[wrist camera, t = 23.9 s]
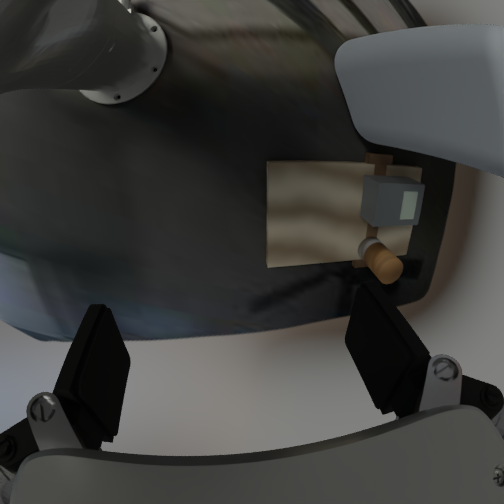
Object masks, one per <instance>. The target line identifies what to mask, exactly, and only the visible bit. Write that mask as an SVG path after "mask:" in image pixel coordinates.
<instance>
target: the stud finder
mask: <svg viewBox="0 0 504 504" xmlns="http://www.w3.org/2000/svg"><path fill="white" fill-rule="evenodd" d="M424 189H425V185H424V184H422V183H420V182H418V181H416V180H414V179H412V178H410V177H399V176H379V175H364V184H363V194H362V202H361V210H360V216H361V217H362V218H363V219H364V220H366V221H367V222H368V223H369V224H370V225H371V226H372V227H380V226H403V225H418V222H419V217H420V212H421V206H422V201H423V195H424Z"/></svg>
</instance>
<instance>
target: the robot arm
mask: <svg viewBox="0 0 504 504" xmlns="http://www.w3.org/2000/svg"><path fill="white" fill-rule="evenodd" d="M130 2H131V0H0V94H3V93H6V92H10V91H15V90H21V89H73V90H79V91H80V92H81V93H82V94H83V95H84V96H85V97H86V98H88V99H90V100H91V101H94V102H97V103H101V104H118V103H123V102H126V101H129V100H132V99H134V98H135V97H137V96H139V95H141V94H142V93H143V92H145V91H146V90H147V89H148V88H149V87H150V86H151V85H152V84H153V83H154V82H155V81H156V80H157V78H158V77H159V75H160V74H161V72H162V70H163V68H164V66H165V62H166V59H167V53H168V45H167V39H166V36H165V33H164V31H163V30H162V28H161V26H160V25H159V24H158V23H157V22H156V21H155V20H154V19H152V18H151V17H149V16H147V15H144V14H142V13H136V12H133V6H131V5H130ZM155 29H157V31H156V32H154V30H155ZM155 68H157V71H156V72H154V69H155ZM119 95H120V96H121V98H120V99H118V96H119ZM345 343H346V346H347V348H348V350H349V352H350V354H351V356H352V358H353V360H354V362H355V365H356V367H357V369H358V371H359V373H360V375H361V377H362V379H363V381H364V383H365V385H366V388H367V390H368V392H369V394H370V396H371V398H372V401H373V403H374V405H375V407H376V408H377V409H380V410H381V412H382V414H387V413H390V412H393V411H394V412H395V414H396V420H394V421H391V422H388V423H385V424H382V425H379V426H376V427H372V428H369V429H366V430H362V431H359V432H356V433H352V434H348V435H345V436H341V437H337V438H333V439H328V440H324V441H320V442H315V443H310V444H305V445H300V446H294V447H289V448H283V449H276V450H270V451H262V452H253V453H243V454H231V455H214V456H156V455H138V454H127V453H117V452H107V451H102V449H101V448H100V447H101V444H102V441H104V442H113V438H114V436H116V435H117V433H118V428H119V422H120V416H121V410H122V404H123V399H124V393H125V388H126V383H127V378H128V373H129V369H130V356H129V353H128V351H127V349H126V347H125V344H124V342H123V339H122V337H121V335H120V332H119V330H118V327H117V324H116V322H115V319H114V317H113V314H112V311H111V309H110V308H107V307H106V305H104V304H91V305H90V306H89V308H88V310H87V312H86V314H85V316H84V318H83V320H82V322H81V325H80V327H79V329H78V331H77V334H76V336H75V338H74V340H73V342H72V344H71V347H70V349H69V351H68V354H67V356H66V359H65V361H64V364H63V366H62V369H61V371H60V374H59V377H58V379H57V382H56V385H55V388H54V390H53V393H49V392H42V393H39V394H37V395H35V396H34V397H33V398H32V399H31V400H30V401H29V403H28V406H27V411H26V412H27V418H25V419H23V420H22V421H21V422H19V423H17V424H15V425H14V426H12V427H11V428H9V429H8V430H6V431H4V432H3V433H1V434H0V504H504V398H503V395H502V393H501V391H500V390H499V389H498V388H497V387H496V386H494V385H491V384H489V383H485V382H482V381H479V380H476V379H474V378H470V377H468V376H465V375H462V369H461V366H460V364H459V363H458V362H457V361H456V360H455V359H454V358H452V357H450V356H448V355H443V354H440V355H436V356H434V357H432V358H431V356H430V355H429V351H428V350H427V348H426V347H425V345H424V344H423V343H422V341H421V340H420V338H419V337H418V336H417V334H416V333H415V331H414V330H413V329H412V327H411V326H410V325H409V323H408V322H407V321H406V319H405V318H404V317H403V315H402V314H401V313H400V311H399V310H398V309H397V307H396V306H395V305H394V303H393V302H392V301H391V300H390V298H389V297H388V296H387V294H386V293H385V292H384V291H383V289H382V288H381V287H380V286H379V284H378V283H377V282H369V283H363V284H361V286H360V287H359V288H357V291H356V295H355V299H354V303H353V308H352V312H351V316H350V320H349V324H348V328H347V332H346V335H345Z"/></svg>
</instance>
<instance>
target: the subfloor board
mask: <svg viewBox="0 0 504 504" xmlns="http://www.w3.org/2000/svg"><path fill="white" fill-rule="evenodd" d="M392 161H393V155H390V154H385V153H373V152H366V154H365V162H348V161H267V262H266V263H267V267H268V268H270V267H282V266H293V265H305V264H316V263H327V262H338V261H349V260H352V265H353V267H354V268H359V267H368V266H367V265H366V263H365V262H364V261H363V260H362V259H361V257H360V256H359V254H358V247H359V245H360V243H361V242H362V241H363V240H364V239H365V238H367V237H371V236H373V237H376V238H377V239H379V240H380V241H381V242H382V243H383V244H384V245H385V246H386V247H387V248H388V249H389V250H390V251H391V252H392V253H393V254H394V255H395V256H399V255H406V253H407V249H408V244H409V240H410V236H411V231H412V226H413V225H403V226H380V227H372V226H371V225H370V224H369V223H368V222H367V221H366V220H364V219H363V218H362V217H361V216H360V210H361V202H362V194H363V184H364V175H379V176H399V177H410V178H412V179H414V180H416V181H418V182H420V181H421V174H422V168H420V167H418V166H409V165H398V164H392Z"/></svg>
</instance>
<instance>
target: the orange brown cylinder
mask: <svg viewBox="0 0 504 504" xmlns="http://www.w3.org/2000/svg"><path fill="white" fill-rule="evenodd" d="M358 254H359V256H360V257H361V259H362V260H363V261H364V262H365V263H366V265H367V266H368V267H369V268H370V269H371V270H372V272H373V273H374V274H375V275H376V276H377V278H378V279H379V280H380V281H381V282H382V283H383V284H390V283H393V282H394V281H396V280H397V279H398V278H399V277H400V275H401V273H402V270H403V264H402V262H401V261H400V260H399V259H398V258H397V257H396V256H395V255H394V254H393V253H392V252H391V251H390V250H389V249H388V248H387V247H386V246H385V245H384V244H383V243H382V242H381V241H380V240H379V239H377V238H376V237H373V236H371V237H367V238H365V239H364V240H363V241H362V242H361V243H360V245H359V247H358Z"/></svg>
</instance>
